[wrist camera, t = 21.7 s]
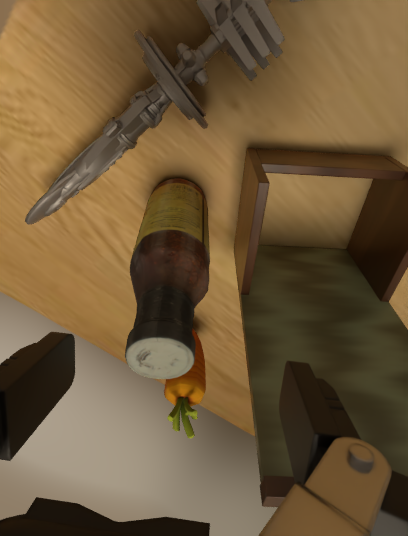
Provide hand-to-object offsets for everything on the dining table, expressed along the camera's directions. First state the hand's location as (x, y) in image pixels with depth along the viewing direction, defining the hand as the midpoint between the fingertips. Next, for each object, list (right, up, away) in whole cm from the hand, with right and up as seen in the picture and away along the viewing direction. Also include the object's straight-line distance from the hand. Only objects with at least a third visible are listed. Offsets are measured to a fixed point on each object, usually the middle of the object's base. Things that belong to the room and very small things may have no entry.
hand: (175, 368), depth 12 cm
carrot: (-1, -5, +33) cm, 33 cm away
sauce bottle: (-2, +11, +22) cm, 24 cm away
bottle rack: (+12, +10, +22) cm, 27 cm away
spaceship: (-1, +20, +15) cm, 25 cm away
